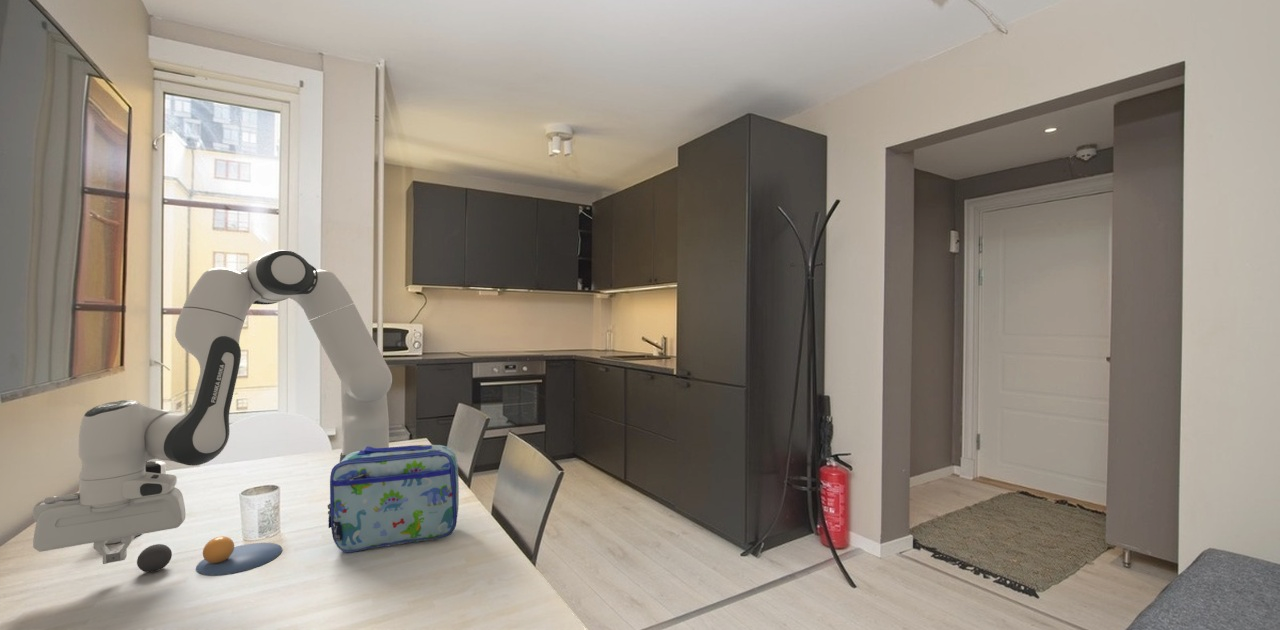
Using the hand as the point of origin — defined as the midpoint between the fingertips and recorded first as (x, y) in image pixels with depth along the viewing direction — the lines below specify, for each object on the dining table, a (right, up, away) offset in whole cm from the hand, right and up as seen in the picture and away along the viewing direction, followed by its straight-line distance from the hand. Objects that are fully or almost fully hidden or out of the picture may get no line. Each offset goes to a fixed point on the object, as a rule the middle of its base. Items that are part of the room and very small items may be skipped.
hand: (114, 561), depth 98 cm
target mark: (+17, -4, +9) cm, 20 cm away
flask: (-18, -4, +18) cm, 26 cm away
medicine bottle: (-27, -4, +36) cm, 45 cm away
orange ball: (+14, -1, +7) cm, 16 cm away
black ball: (+4, -1, +3) cm, 6 cm away
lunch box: (+45, -4, +18) cm, 49 cm away
